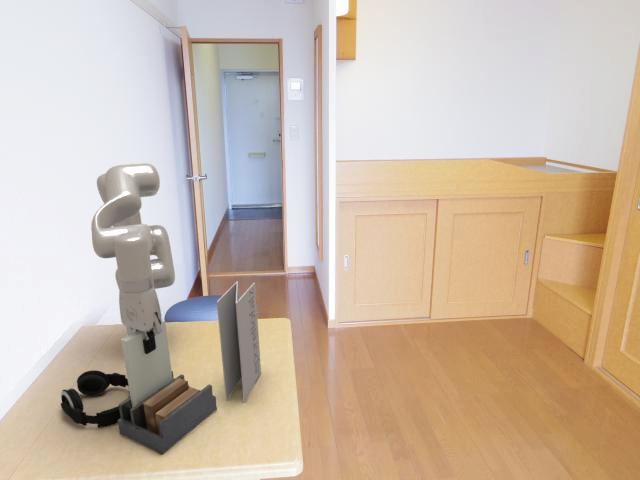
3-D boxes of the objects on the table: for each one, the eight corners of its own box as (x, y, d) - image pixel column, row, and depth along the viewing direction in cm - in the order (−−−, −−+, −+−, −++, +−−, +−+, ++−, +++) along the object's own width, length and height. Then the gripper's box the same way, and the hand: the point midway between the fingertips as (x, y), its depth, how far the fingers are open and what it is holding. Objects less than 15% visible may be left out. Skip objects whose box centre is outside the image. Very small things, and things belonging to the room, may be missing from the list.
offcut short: (159, 438, 115) (155, 413, 113) (193, 411, 125) (191, 387, 123) (167, 443, 114) (164, 417, 112) (202, 414, 124) (199, 390, 122)
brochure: (244, 403, 128) (236, 303, 119) (225, 400, 129) (216, 301, 120) (261, 373, 141) (255, 282, 132) (243, 372, 142) (236, 281, 133)
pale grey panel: (132, 409, 118) (120, 339, 112) (168, 384, 128) (159, 318, 122) (137, 411, 117) (126, 341, 111) (173, 386, 127) (165, 320, 121)
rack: (119, 433, 117) (114, 406, 115) (176, 392, 133) (172, 368, 130) (162, 454, 110) (158, 426, 108) (216, 408, 126) (214, 383, 123)
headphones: (87, 360, 135) (151, 373, 132) (89, 383, 138) (152, 396, 135) (42, 398, 119) (114, 414, 116) (45, 423, 121) (115, 439, 118)
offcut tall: (148, 433, 117) (143, 403, 114) (183, 406, 127) (179, 378, 124) (156, 437, 116) (151, 406, 113) (191, 410, 126) (187, 381, 123)
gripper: (102, 282, 113) (113, 349, 119) (147, 295, 106) (157, 365, 111) (127, 272, 119) (137, 336, 125) (172, 283, 112) (180, 350, 118)
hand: (146, 349), depth 118 cm, fingers closed on pale grey panel, 2 cm apart
